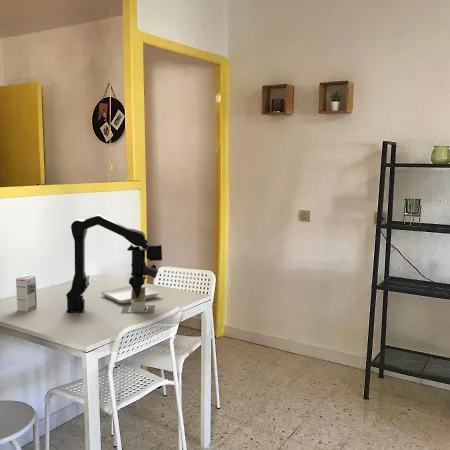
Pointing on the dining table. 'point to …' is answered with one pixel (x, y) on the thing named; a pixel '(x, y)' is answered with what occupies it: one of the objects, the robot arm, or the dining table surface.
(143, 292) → the walnut block
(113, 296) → the salad plate
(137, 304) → the sage block
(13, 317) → the dining table surface
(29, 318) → the dining table surface
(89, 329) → the dining table surface
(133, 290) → the robot arm
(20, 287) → the syrup box
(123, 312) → the mat
